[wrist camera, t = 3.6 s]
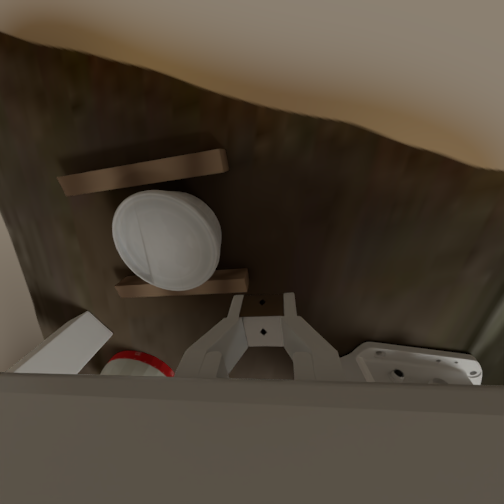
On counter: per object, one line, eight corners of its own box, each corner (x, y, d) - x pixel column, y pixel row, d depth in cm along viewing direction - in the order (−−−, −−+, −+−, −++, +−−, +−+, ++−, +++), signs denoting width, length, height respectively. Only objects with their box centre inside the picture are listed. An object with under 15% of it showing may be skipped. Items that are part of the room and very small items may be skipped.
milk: (88, 309, 34) (-177, 527, 14) (114, 333, 36) (-86, 553, 16) (68, 321, 36) (-190, 526, 16) (94, 343, 38) (-108, 550, 18)
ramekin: (124, 212, 25) (88, 226, 20) (191, 162, 21) (166, 165, 17) (180, 279, 29) (161, 304, 24) (246, 246, 25) (238, 268, 20)
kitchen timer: (128, 392, 45) (63, 495, 31) (98, 350, 39) (3, 454, 25) (185, 395, 42) (142, 507, 29) (163, 350, 36) (96, 465, 23)
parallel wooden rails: (225, 149, 20) (219, 148, 18) (249, 280, 27) (247, 292, 25) (77, 174, 23) (56, 177, 21) (132, 287, 30) (120, 298, 28)
